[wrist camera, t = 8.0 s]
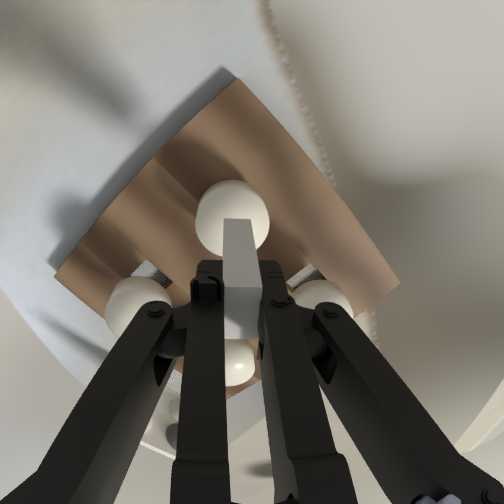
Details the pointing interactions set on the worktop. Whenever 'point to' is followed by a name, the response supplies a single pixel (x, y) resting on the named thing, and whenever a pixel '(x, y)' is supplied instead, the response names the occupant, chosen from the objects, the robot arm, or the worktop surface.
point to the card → (163, 425)
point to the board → (186, 206)
